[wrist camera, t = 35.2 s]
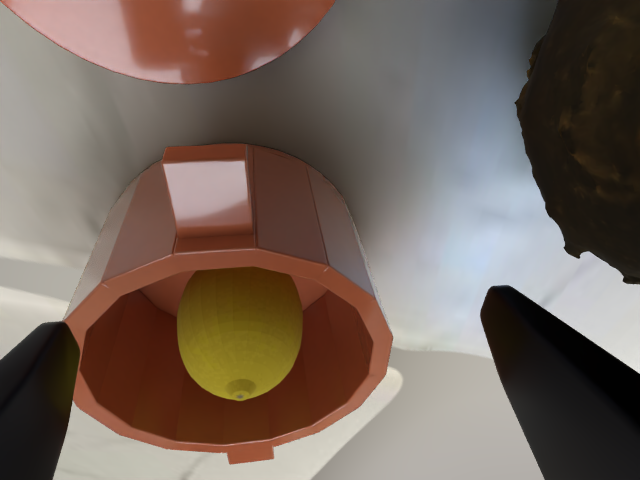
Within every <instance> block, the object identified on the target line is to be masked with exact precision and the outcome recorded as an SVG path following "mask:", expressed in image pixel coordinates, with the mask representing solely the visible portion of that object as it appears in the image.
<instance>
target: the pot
mask: <svg viewBox="0 0 640 480" xmlns="http://www.w3.org/2000/svg"><path fill="white" fill-rule="evenodd" d="M250 266H255V267H259V268H263V269H268V270H272V271H276V272H281V273H285V274H289V275H290V276H291V277H292V279H293V281H294V283H295V285H296V288H297V291H298V294H299V296H300V300H301V304H302V311H303V328H302V339H301V345H300V349H299V352H298V355H297V357H296V360H295V362H294V365H293V367H292V368H291V370H290V372H289V373H288V374H287V375H286V376H285V378H284V379H283V380H282V381H281V382H280V383H279V384H277V385H276V386H275V387H273V388H272V389H271V390H269V391H268V392H266V393H264V394H261V395H259V396H257V397H253V398H249V399H246V400H243V401H237V400H232V399H226V398H222V397H219V396H216V395H214V394H212V393H210V392H209V391H207V390H205V389H204V388H202V387H201V386H200V385H199V384H198V383H197V382H196V381H195V380H194V379H193V378H192V377H191V376H190V374H189V373H188V371H187V369H186V367H185V365H184V363H183V360H182V358H181V355H180V351H179V345H178V336H177V313H178V307H179V304H180V300H181V297H182V295H183V292H184V289H185V287H186V284H187V283H188V281H189V279H190V278H191V277H192V275H193V274H194V273H195V271H196V270H209V269H223V268H237V267H250ZM62 322H65V323H67V324H68V326H69V328H70V330H71V332H72V334H73V335H74V337H75V339H76V341H77V343H78V345H79V348H80V360H79V366H78V372H77V378H76V383H75V389H74V395H73V401H74V403H75V404H76V406H77V407H79V409H80V410H82V411H83V412H85V413H86V414H88V415H89V416H91V417H93V418H94V419H96V420H97V421H99V422H100V423H102V424H103V425H105V426H106V427H108V428H109V429H111V430H112V431H114V432H115V433H117V434H119V435H121V436H124V437H128V438H131V439H134V440H138V441H141V442H144V443H148V444H151V445H155V446H158V447H161V448H165V449H170V450H184V451H198V452H212V453H227V457H228V461H229V464H238V463H246V462H254V461H262V460H270V459H274V447H276V446H279V445H282V444H285V443H288V442H291V441H294V440H297V439H300V438H303V437H306V436H309V435H312V434H315V433H318V432H320V431H322V430H324V429H325V428H327V427H328V426H330V425H332V424H333V423H335V422H336V421H338V420H340V419H341V418H343V417H344V416H346V415H348V414H349V413H351V412H352V411H354V410H356V409H357V408H358V407H360V406H361V405H362V404H363V402H364V401H365V400H366V399H367V398H368V396H369V395H370V394H371V393H372V391H373V390H374V389H375V388H376V387H377V385H378V384H379V383H380V382H381V380H382V379H383V378H384V377H385V375H386V372H387V367H388V362H389V356H390V351H391V346H392V341H393V335H392V332H391V329H390V326H389V323H388V320H387V317H386V314H385V311H384V308H383V305H382V302H381V299H380V296H379V293H378V290H377V287H376V284H375V281H374V278H373V275H372V272H371V269H370V266H369V263H368V261H367V258H366V255H365V252H364V249H363V246H362V243H361V240H360V237H359V234H358V231H357V229H356V226H355V224H354V222H353V219H352V217H351V215H350V212H349V209H348V207H347V205H346V203H345V201H344V198H343V196H342V195H341V194H340V193H339V192H338V191H337V189H336V188H335V187H334V185H333V184H332V183H331V182H330V181H329V180H328V179H327V178H326V177H325V176H324V175H322V174H321V173H320V172H318V171H317V170H316V169H314V168H313V167H312V166H310V165H308V164H307V163H305V162H303V161H301V160H299V159H298V158H296V157H293V156H291V155H288V154H286V153H283V152H281V151H278V150H274V149H271V148H267V147H263V146H257V145H250V144H242V143H220V144H210V145H201V146H174V147H166V148H165V151H164V154H163V157H162V160H160V161H158V162H156V163H154V164H153V165H151V166H150V167H148V168H147V169H146V170H144V171H143V172H141V173H140V174H139V175H138V176H137V177H136V178H135V179H134V180H133V181H132V182H131V183H130V184H129V185H128V186H127V188H126V189H125V191H124V192H123V193H122V195H121V196H120V198H119V200H118V201H117V202H116V203H115V204H114V205H113V207H112V208H111V210H110V212H109V214H108V217H107V219H106V221H105V224H104V226H103V228H102V231H101V233H100V235H99V238H98V240H97V242H96V244H95V247H94V249H93V251H92V254H91V256H90V258H89V261H88V263H87V265H86V267H85V270H84V272H83V275H82V277H81V279H80V281H79V284H78V286H77V288H76V290H75V293H74V295H73V298H72V300H71V302H70V304H69V307H68V309H67V311H66V314H65V316H64V318H63V320H62Z"/></svg>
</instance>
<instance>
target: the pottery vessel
mask: <svg viewBox="0 0 640 480" xmlns="http://www.w3.org/2000/svg"><path fill="white" fill-rule="evenodd" d="M529 63H530V65H531V67H530V69H529V70H527V77H528V81H527V83H526V84H525V85H524V87H523V88H522V90H521V93H520V96H519V99H518V100H517V101H516V102H515V104H516V108H517V117H518V119H519V121H520V125H521V128H522V136H523V139H524V144H525V150H526V154H527V156H528V158H529V160H530V163H531V165H532V174H533V177H534V179H535V181H536V183H537V185H538V187H539V189H540V192H541V195H542V197H543V199H544V201H545V209H546V211H547V213H548V215H549V217H551V218H552V219H553V220H554V221H555V222H556V223H557V224H558V226H559V227H560V229H561V231H562V234H563V237H564V241H565V247H564V249H565V251H566V252H567V253H568V254H570V255H572V256H574V257H576V258H578V259H579V258H580V254H581V253H582V252H587V251H590V252H591V253H592V254H594V255H595V256H597V257H599V258H600V259H602V260H603V261H605V262H607V263H608V264H609V265H610V266H612V267H614V268H616V269H617V270H619V271H620V272H621V273H622V275H623V276H624V278H623V282H625V283H626V284H640V0H558V4H557V7H556V11H555V13H554V16H553V19H552V21H551V24H550V26H549V29H548V31H547V34H546V35H545V36H544V37H543V38H542V39H541V40H540V41H539V42H538V43H537V44H536V45H535V48H534V50H533V51H532V56H531V58H530V59H529Z"/></svg>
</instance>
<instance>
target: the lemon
mask: <svg viewBox="0 0 640 480" xmlns="http://www.w3.org/2000/svg"><path fill="white" fill-rule="evenodd" d="M302 328H303V311H302V304H301V300H300V296H299V294H298V291H297V288H296V285H295V283H294V281H293V279H292V277H291V276H290V275H289V274H285V273H281V272H276V271H272V270H268V269H263V268H259V267H255V266H250V267H237V268H223V269H209V270H196V271H195V273H194V274H193V275H192V277H191V278H190V279H189V281H188V283H187V284H186V287H185V289H184V292H183V295H182V297H181V300H180V304H179V307H178V313H177V336H178V345H179V351H180V355H181V358H182V360H183V363H184V365H185V367H186V369H187V371H188V373H189V374H190V376H191V377H192V378H193V379H194V380H195V381H196V382H197V383H198V384H199V385H200V386H201V387H202V388H204V389H205V390H207V391H209V392H210V393H212V394H214V395H216V396H219V397H222V398H226V399H232V400H237V401H243V400H246V399H249V398H253V397H257V396H259V395H261V394H264V393H266V392H268V391H269V390H271V389H272V388H273V387H275V386H276V385H277V384H279V383H280V382H281V381H282V380H283V379H284V378H285V376H286V375H287V374H288V373H289V372H290V370H291V368H292V367H293V365H294V362H295V360H296V357H297V355H298V352H299V349H300V345H301V339H302Z"/></svg>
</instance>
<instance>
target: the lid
mask: <svg viewBox="0 0 640 480" xmlns="http://www.w3.org/2000/svg"><path fill="white" fill-rule="evenodd" d="M0 1H1V2H2V3H3V4H4V5H5V6H6V7H7V8H9V9H10V10H11V11H12V12H14V13H15V14H16V15H17V16H18V17H20V18H21V19H22V20H23V21H25V22H26V23H27V24H28V25H29V26H31V27H32V28H33V29H35V30H36V31H38V32H39V33H41V34H42V35H44V36H45V37H47V38H48V39H50V40H51V41H53V42H54V43H56V44H57V45H59V46H60V47H62V48H64V49H66V50H68V51H70V52H71V53H73V54H75V55H77V56H79V57H81V58H82V59H84V60H86V61H89V62H91V63H93V64H96V65H98V66H101V67H103V68H106V69H108V70H110V71H113V72H116V73H120V74H123V75H127V76H130V77H133V78H137V79H141V80H147V81H153V82H159V83H168V84H199V83H211V82H216V81H221V80H225V79H230V78H234V77H237V76H240V75H243V74H246V73H248V72H251V71H254V70H256V69H258V68H260V67H262V66H264V65H266V64H268V63H270V62H271V61H273V60H275V59H277V58H279V57H280V56H281V55H283V54H284V53H286V52H287V51H288V50H290V49H291V48H292V47H294V46H295V45H297V44H298V43H299V42H300V41H301V40H302V39H303V38H304V37H305V36H306V35H307V34H308V33H309V32H310V31H311V30H313V29H314V28H315V27H316V26H317V24H318V23H319V22H320V21H321V19H322V18H323V17H324V16H325V14H326V13H327V12H328V11H329V10H330V8H331V7H332V6H333V4H334V3H335V1H336V0H0Z"/></svg>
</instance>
